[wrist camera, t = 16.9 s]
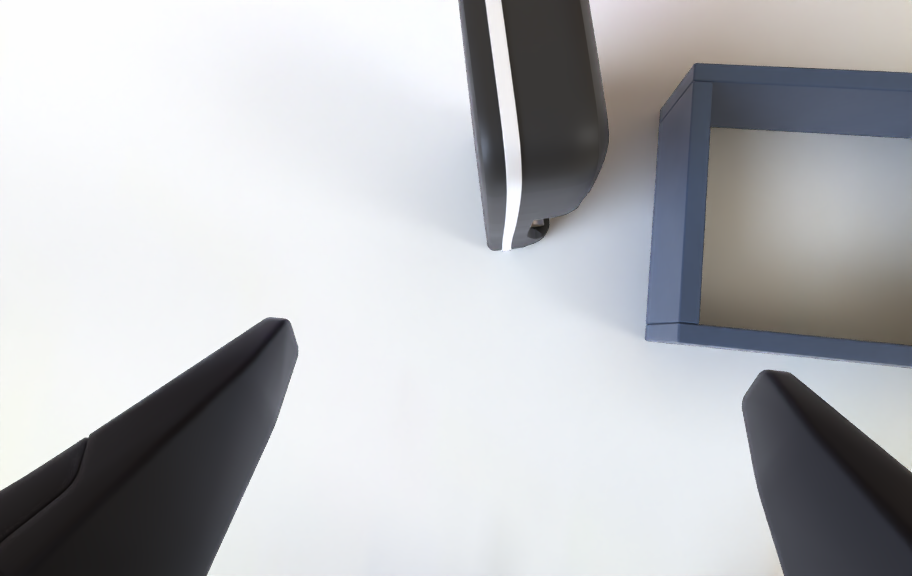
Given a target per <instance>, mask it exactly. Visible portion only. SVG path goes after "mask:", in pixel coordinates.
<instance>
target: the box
mask: <svg viewBox="0 0 912 576" xmlns="http://www.w3.org/2000/svg"><path fill="white" fill-rule="evenodd" d="M710 127H722V128H739V129H756V130H774V131H791V132H809V133H826V134H843V135H861V136H878V137H895V138H912V73H907V72H884V71H862V70H839V69H817V68H794V67H772V66H749V65H727V64H704V63H695V64H694V65H693V66H692V68H691V69H690V70H689V72H688V73H687V74H686V76H685V77H684V78H683V80H682V81H681V83H680V84H679V85H678V87H677V88H676V89H675V91H674V92H673V93H672V95H671V96H670V97H669V99H668V100H667V102H666V103H665V104H664V106H663V107H662V108H661V110H660V125H659V137H658V152H657V167H656V182H655V197H654V212H653V226H652V241H651V256H650V271H649V286H648V301H647V316H646V324H647V325H646V333H645V340H646V341H652V342H662V343H671V344H681V345H691V346H700V347H710V348H720V349H729V350H739V351H749V352H758V353H768V354H778V355H788V356H797V357H807V358H817V359H826V360H836V361H846V362H855V363H865V364H875V365H884V366H894V367H904V368H912V345H902V344H892V343H882V342H872V341H862V340H852V339H842V338H831V337H821V336H811V335H801V334H791V333H781V332H771V331H760V330H750V329H740V328H730V327H720V326H710V325H700V324H699V318H700V301H701V283H702V265H703V248H704V230H705V212H706V195H707V177H708V159H709V142H710Z"/></svg>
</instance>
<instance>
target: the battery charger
mask: <svg viewBox="0 0 912 576" xmlns="http://www.w3.org/2000/svg"><path fill="white" fill-rule="evenodd" d="M458 1H459V10H460V19H461V28H462V37H463V46H464V54H465V63H466V72H467V81H468V90H469V99H470V107H471V116H472V125H473V134H474V142H475V150H476V158H477V166H478V174H479V182H480V190H481V198H482V206H483V214H484V222H485V230H486V238H487V244H488V247H489V248H490V249H491V250H493V251H497V250H502V252H503V251H510V250H511V249H513V248H520V247H525V246H527V245H530V244H534V243H535V242H537V241H539V240H541V239H542V238H543V237H544V236H545V234H546V233H547V231H548V229H549V218H553V217H558V216H562V215H566V214H568V213H570V212H572V211H573V210H575V209H577V208H578V206H579V205H580V203H581V202H582V200H583V199H584V198H585V197H586V195H587V194H588V193H589V192H590V190H591V188H592V186H593V184H594V183H595V181H596V179H597V177H598V174H599V172H600V170H601V168H602V165H603V162H604V159H605V155H606V152H607V148H608V141H609V130H608V119H607V112H606V105H605V99H604V92H603V86H602V79H601V73H600V66H599V60H598V53H597V47H596V41H595V35H594V29H593V23H592V17H591V11H590V5H589V0H458Z"/></svg>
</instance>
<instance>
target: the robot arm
mask: <svg viewBox="0 0 912 576" xmlns="http://www.w3.org/2000/svg"><path fill="white" fill-rule="evenodd" d="M297 357H298V345H297V342H296V339H295V335H294V332H293V329H292V326H291V323H290V322H289V321H288V320H287V319H283V318H273V317H269V318H266V319H264V320H262V321H261V322H259V323H258V324H256V325H255V326H253V327H252V328H250V329H249V330H247V331H246V332H244V333H243V334H241V335H240V336H238V337H237V338H235V339H234V340H232V341H231V342H229V343H228V344H226V345H225V346H223V347H221V348H220V349H218V350H217V351H215V352H214V353H212V354H211V355H209V356H208V357H206V358H205V359H203V360H202V361H200V362H199V363H197V364H196V365H194V366H193V367H191V368H190V369H188V370H187V371H185V372H184V373H182V374H181V375H179V376H178V377H176V378H175V379H173V380H172V381H170V382H168V383H167V384H165V385H164V386H162V387H161V388H159V389H158V390H156V391H155V392H153V393H152V394H150V395H149V396H147V397H146V398H144V399H143V400H141V401H140V402H138V403H137V404H135V405H134V406H132V407H131V408H129V409H128V410H126V411H125V412H123V413H122V414H120V415H119V416H117V417H115V418H114V419H112V420H111V421H109V422H108V423H106V424H105V425H103V426H102V427H100V428H99V429H97V430H96V431H94V432H93V433H91V434H90V435H89V438H83V439H82V440H80V441H79V442H77V443H76V444H74V445H73V446H71V447H70V448H68V449H67V450H65V451H64V452H62V453H61V454H59V455H58V456H56V457H54V458H53V459H51V460H50V461H48V462H47V463H45V464H43V465H42V466H40V467H39V468H37V469H36V470H34V471H32V472H31V473H29V474H28V475H26V476H25V477H23V478H21V479H20V480H18V481H16V482H15V483H13V484H11V485H10V486H8V487H6V488H5V489H3V490H1V491H0V576H207V574H208V571H209V569H210V567H211V565H212V563H213V560H214V558H215V556H216V554H217V552H218V549H219V547H220V545H221V543H222V541H223V539H224V536H225V534H226V532H227V530H228V528H229V525H230V523H231V521H232V519H233V517H234V514H235V512H236V510H237V508H238V506H239V503H240V501H241V499H242V497H243V495H244V492H245V490H246V488H247V486H248V484H249V482H250V479H251V477H252V475H253V473H254V471H255V468H256V466H257V464H258V462H259V460H260V457H261V455H262V453H263V451H264V449H265V446H266V444H267V442H268V440H269V438H270V435H271V433H272V431H273V428H274V426H275V423H276V421H277V418H278V415H279V412H280V409H281V406H282V403H283V400H284V397H285V394H286V391H287V388H288V385H289V382H290V379H291V376H292V373H293V369H294V366H295V363H296V360H297ZM742 411H743V416H744V421H745V427H746V432H747V437H748V443H749V448H750V453H751V459H752V464H753V469H754V475H755V479H756V484H757V488H758V492H759V495H760V499H761V502H762V505H763V509H764V512H765V515H766V518H767V522H768V525H769V528H770V531H771V535H772V538H773V541H774V544H775V548H776V551H777V554H778V557H779V561H780V564H781V567H782V570H783V573H784V576H912V473H911V472H910V471H909V470H908V469H907V468H905V467H904V466H903V465H902V464H901V463H899V462H898V461H897V460H896V459H895V458H893V457H892V456H891V455H890V454H888V453H887V452H886V451H885V450H884V449H882V448H881V447H880V446H879V445H878V444H876V443H875V442H874V441H873V440H871V439H870V438H869V437H868V436H867V435H865V434H864V433H863V432H862V431H861V430H859V429H858V428H857V427H856V426H854V425H853V424H852V423H851V422H850V421H848V420H847V419H846V418H845V417H844V416H842V415H841V414H840V413H839V412H838V411H836V410H835V409H834V408H833V407H831V406H830V405H829V404H828V403H827V402H825V401H824V400H823V399H822V398H821V397H819V396H818V395H817V394H816V393H814V392H813V391H812V390H811V389H810V388H808V387H807V386H806V385H805V384H804V383H802V382H801V381H800V380H799V379H797V378H796V377H795V376H794V375H792V374H791V373H788V372H784V371H775V370H764V371H762V372H760V373H759V375H758V376H757V378H756V379H755V381H754V382H753V384H752V385H751V387H750V388H749V389H748V391H747V392H746V394H745V395H744V398H743V401H742Z"/></svg>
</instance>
